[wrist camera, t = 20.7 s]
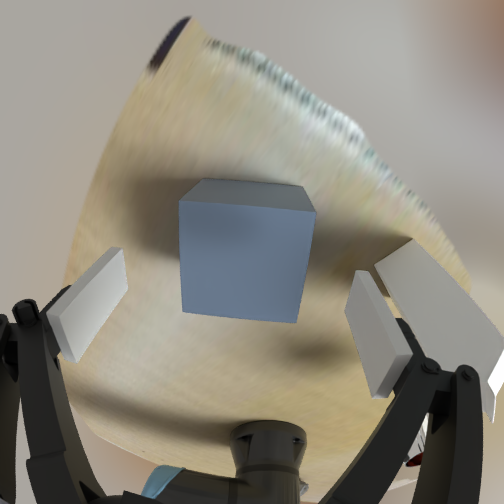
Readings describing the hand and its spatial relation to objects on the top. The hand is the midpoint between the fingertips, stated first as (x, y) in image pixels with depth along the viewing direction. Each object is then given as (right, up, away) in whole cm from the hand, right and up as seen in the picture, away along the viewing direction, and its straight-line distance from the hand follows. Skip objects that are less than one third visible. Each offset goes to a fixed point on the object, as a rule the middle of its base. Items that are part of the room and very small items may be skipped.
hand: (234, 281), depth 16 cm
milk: (+19, 0, +17) cm, 25 cm away
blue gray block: (+1, +4, +15) cm, 16 cm away
